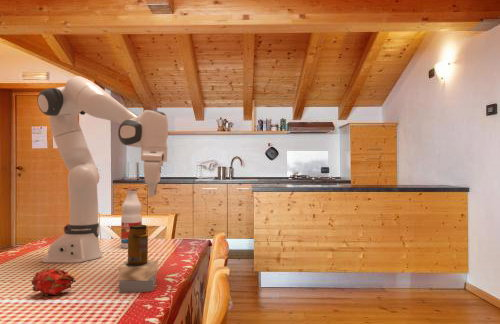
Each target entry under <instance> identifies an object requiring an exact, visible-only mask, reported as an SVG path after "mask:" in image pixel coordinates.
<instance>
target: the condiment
mask: <svg viewBox="0 0 500 324" xmlns="http://www.w3.org/2000/svg"><path fill="white" fill-rule="evenodd" d="M147 228H148V227H147V225H145V224H142V225H132V226H130V231H129V232H130V234H129V235H128V249H127V261H123V264H124V263H125V264H126V265H127V266H128V267H129V268H131V267H132V268H133V267H144V266H150V265H152V264H151V263H150V262H148V261H147V260H149V259H148V258H149V257H148V256H149V255H148V254H149V245H148V243H149V234H148V233H147ZM145 264H146V265H145Z"/></svg>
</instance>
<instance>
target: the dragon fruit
mask: <svg viewBox="0 0 500 324" xmlns="http://www.w3.org/2000/svg"><path fill="white" fill-rule="evenodd" d="M41 270H42V271H41ZM41 270H40V271H38V272H37V273H36V275H34V276H33V279H32V280H31V285H32V292H35V293H36V292H38V293H39V292H41V293H42V295H43V296H44V297H45V298H46V297H48V296H49V295H54V296H55V295H56V296H63V295H65V294H66V293H67V292H65V290H68V289H71V288H72V284H73V283H77V282H76V281H77V280H76V278H75V277H74V276H73V275H72V274H67V273H66V272H65V270H62V269H60V268H57V269H56V268H55V267H52V268H51V269H50V268H44V269H41ZM62 291H63V292H62Z"/></svg>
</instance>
